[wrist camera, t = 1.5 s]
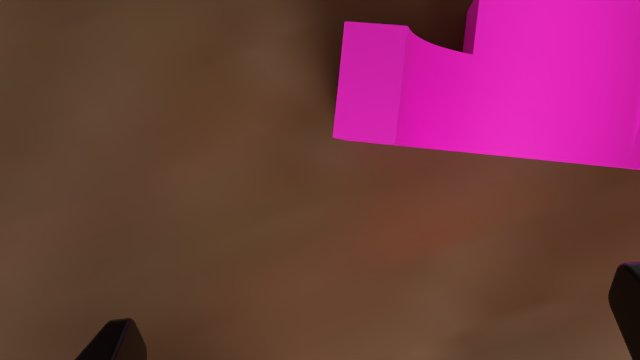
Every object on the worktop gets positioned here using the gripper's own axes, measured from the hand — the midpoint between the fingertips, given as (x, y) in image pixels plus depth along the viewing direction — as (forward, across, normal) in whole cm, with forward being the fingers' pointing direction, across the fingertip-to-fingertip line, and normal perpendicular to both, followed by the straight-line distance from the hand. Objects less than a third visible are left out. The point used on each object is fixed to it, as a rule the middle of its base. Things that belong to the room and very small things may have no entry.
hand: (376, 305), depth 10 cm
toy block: (+14, -9, +4) cm, 17 cm away
